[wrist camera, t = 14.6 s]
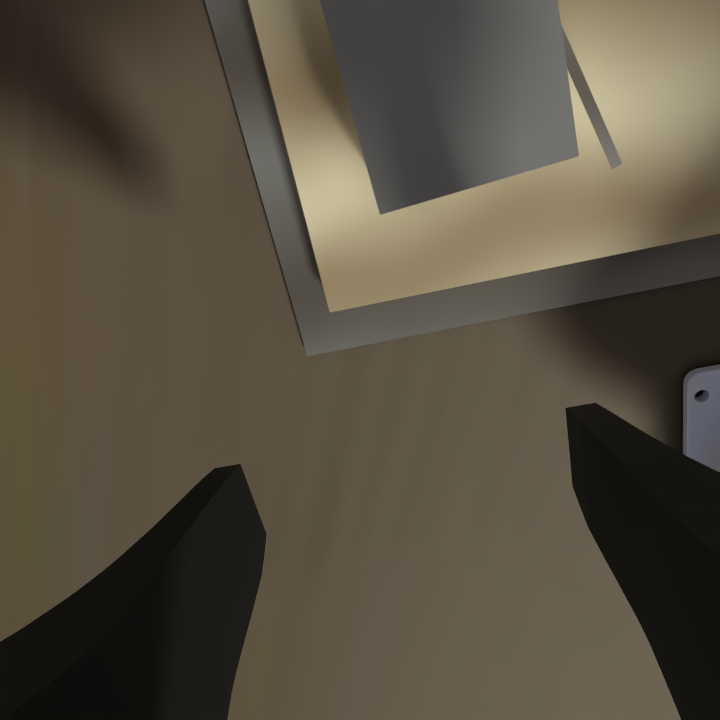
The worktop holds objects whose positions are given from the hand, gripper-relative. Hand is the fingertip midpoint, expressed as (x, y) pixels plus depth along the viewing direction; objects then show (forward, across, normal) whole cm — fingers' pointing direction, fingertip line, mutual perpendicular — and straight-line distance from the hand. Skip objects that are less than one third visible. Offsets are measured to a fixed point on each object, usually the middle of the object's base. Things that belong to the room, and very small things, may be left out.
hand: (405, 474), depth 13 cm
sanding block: (+8, -2, -9) cm, 12 cm away
